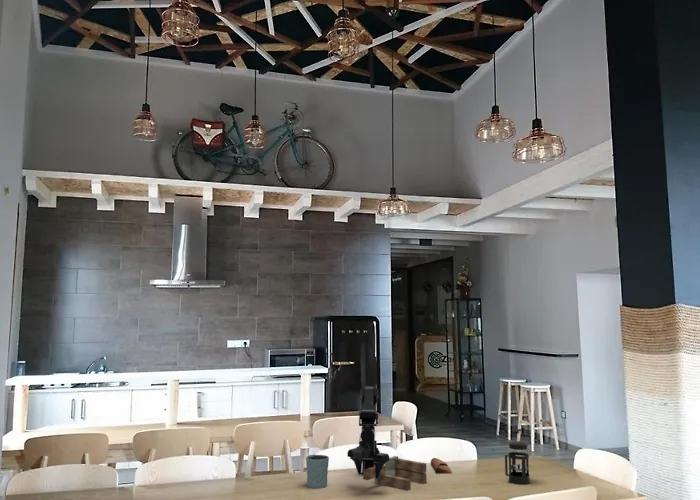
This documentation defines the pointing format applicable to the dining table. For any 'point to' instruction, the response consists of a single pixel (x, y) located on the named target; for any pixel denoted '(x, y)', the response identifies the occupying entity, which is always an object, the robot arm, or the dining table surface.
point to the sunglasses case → (440, 466)
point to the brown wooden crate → (402, 473)
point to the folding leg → (373, 472)
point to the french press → (514, 476)
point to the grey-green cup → (317, 470)
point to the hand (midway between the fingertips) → (368, 476)
